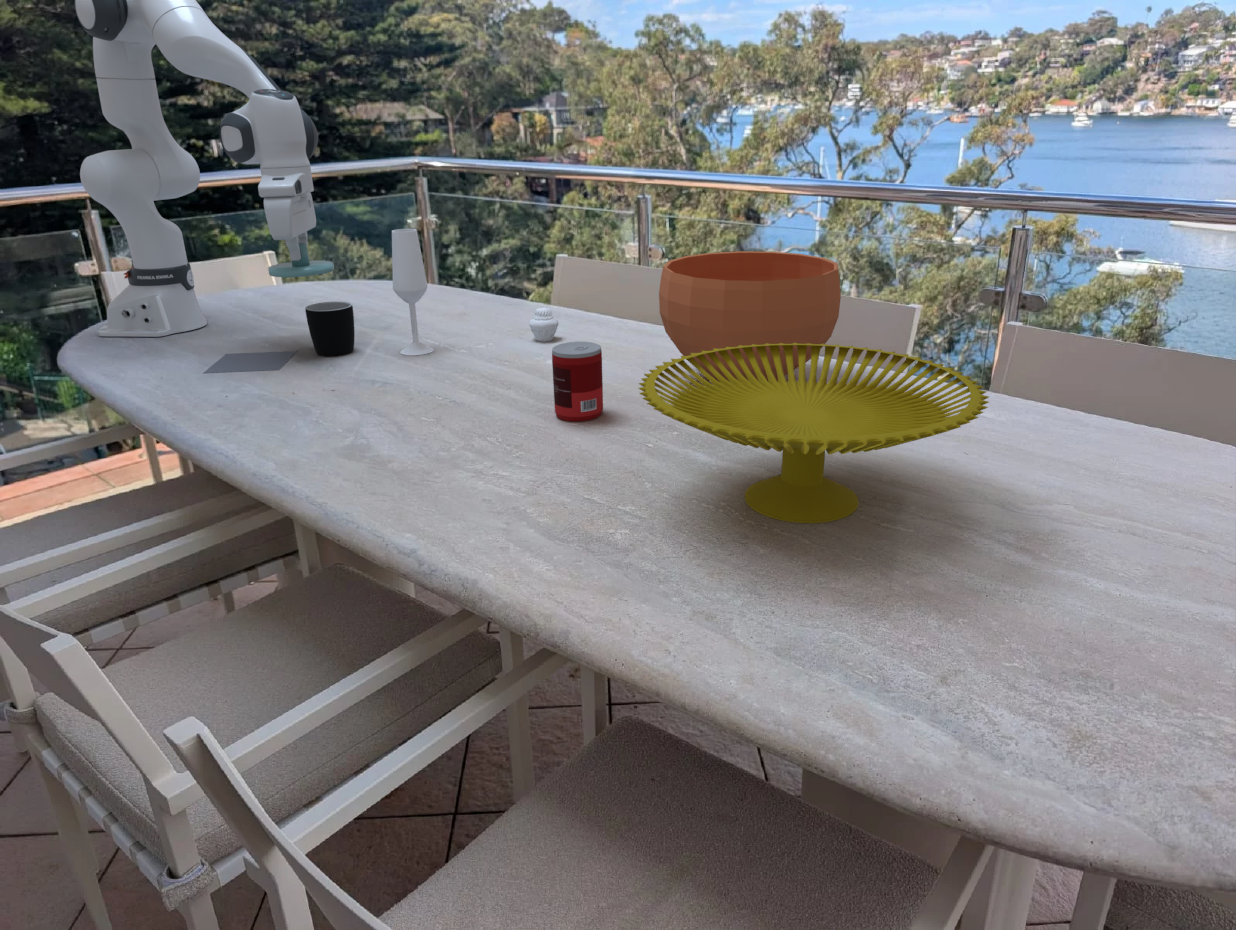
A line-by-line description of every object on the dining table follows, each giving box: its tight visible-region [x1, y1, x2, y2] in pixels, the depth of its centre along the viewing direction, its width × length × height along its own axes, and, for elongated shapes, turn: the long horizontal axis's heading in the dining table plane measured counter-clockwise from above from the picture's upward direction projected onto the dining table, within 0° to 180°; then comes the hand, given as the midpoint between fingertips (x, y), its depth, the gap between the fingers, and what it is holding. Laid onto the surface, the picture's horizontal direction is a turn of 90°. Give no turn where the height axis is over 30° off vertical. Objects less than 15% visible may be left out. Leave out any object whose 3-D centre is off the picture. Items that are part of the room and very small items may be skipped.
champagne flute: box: [391, 228, 434, 356], centre depth 181 cm, size 7×7×24 cm
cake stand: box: [638, 343, 990, 524], centre depth 111 cm, size 40×40×15 cm
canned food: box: [551, 341, 604, 423], centre depth 144 cm, size 8×8×11 cm
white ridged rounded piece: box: [528, 306, 559, 343], centre depth 191 cm, size 6×6×7 cm
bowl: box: [658, 250, 842, 383], centre depth 156 cm, size 30×30×20 cm
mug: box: [304, 300, 355, 358], centre depth 182 cm, size 12×9×10 cm
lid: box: [267, 243, 335, 278], centre depth 175 cm, size 12×12×5 cm
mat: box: [203, 350, 298, 374], centre depth 177 cm, size 14×14×1 cm
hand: (299, 258), depth 175 cm, fingers closed on lid, 3 cm apart
